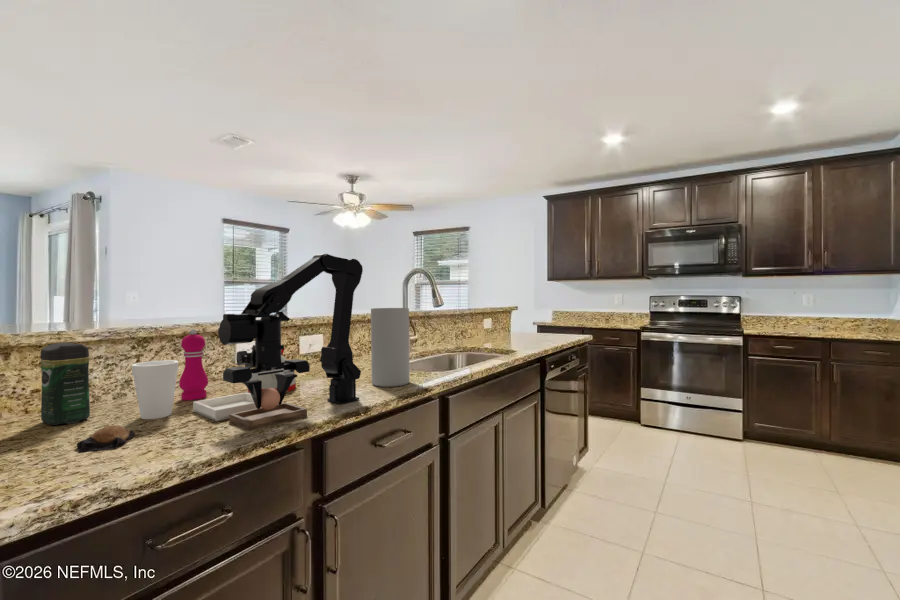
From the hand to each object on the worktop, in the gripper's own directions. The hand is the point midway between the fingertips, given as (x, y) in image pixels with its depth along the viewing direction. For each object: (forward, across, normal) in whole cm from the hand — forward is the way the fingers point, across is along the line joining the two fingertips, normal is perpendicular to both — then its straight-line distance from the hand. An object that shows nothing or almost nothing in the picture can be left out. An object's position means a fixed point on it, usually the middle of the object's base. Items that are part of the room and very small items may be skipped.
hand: (269, 406), depth 102 cm
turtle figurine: (+4, +29, -10) cm, 31 cm away
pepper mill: (+3, +3, -38) cm, 38 cm away
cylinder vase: (+3, -46, -8) cm, 47 cm away
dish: (+3, +2, -15) cm, 15 cm away
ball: (+1, 0, 0) cm, 1 cm away
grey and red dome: (+3, -17, -31) cm, 36 cm away
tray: (+3, 0, 0) cm, 3 cm away
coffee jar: (+3, +31, -37) cm, 48 cm away
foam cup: (+3, +16, -25) cm, 30 cm away
